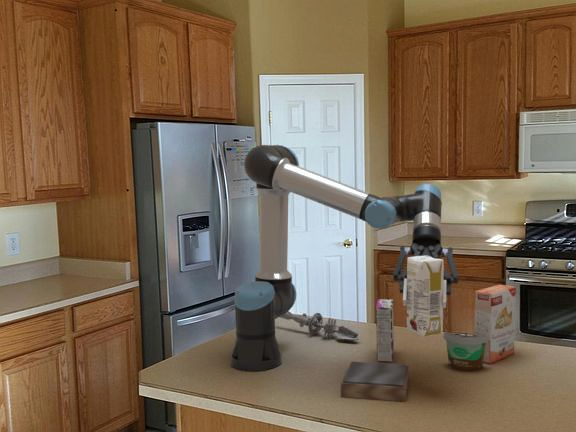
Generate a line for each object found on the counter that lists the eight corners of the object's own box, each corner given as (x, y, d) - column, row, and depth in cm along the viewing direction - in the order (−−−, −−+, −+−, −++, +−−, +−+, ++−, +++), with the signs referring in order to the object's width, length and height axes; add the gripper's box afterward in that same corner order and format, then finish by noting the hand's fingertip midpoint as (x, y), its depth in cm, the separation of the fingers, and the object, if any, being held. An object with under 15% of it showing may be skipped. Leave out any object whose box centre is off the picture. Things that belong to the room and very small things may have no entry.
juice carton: (422, 337, 150) (423, 261, 148) (402, 329, 158) (402, 256, 156) (447, 333, 153) (448, 259, 151) (426, 325, 161) (427, 254, 159)
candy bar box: (378, 350, 191) (377, 298, 189) (394, 350, 190) (393, 299, 188) (375, 361, 180) (375, 307, 179) (393, 362, 179) (392, 307, 178)
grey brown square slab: (341, 396, 154) (340, 381, 154) (350, 374, 170) (350, 360, 169) (405, 401, 150) (405, 385, 150) (408, 378, 166) (408, 364, 165)
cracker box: (491, 365, 175) (492, 293, 173) (472, 360, 180) (473, 290, 178) (516, 354, 184) (516, 286, 182) (497, 349, 189) (498, 283, 187)
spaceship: (285, 303, 223) (272, 299, 217) (367, 327, 202) (356, 323, 195) (278, 324, 222) (266, 320, 215) (360, 350, 200) (349, 347, 194)
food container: (441, 370, 172) (441, 335, 171) (443, 363, 178) (443, 329, 177) (487, 374, 168) (487, 339, 167) (487, 367, 173) (488, 332, 172)
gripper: (467, 242, 166) (469, 313, 152) (387, 240, 171) (381, 309, 157) (468, 224, 160) (470, 298, 146) (385, 223, 166) (379, 293, 152)
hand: (424, 303), depth 152 cm, fingers closed on juice carton, 9 cm apart
